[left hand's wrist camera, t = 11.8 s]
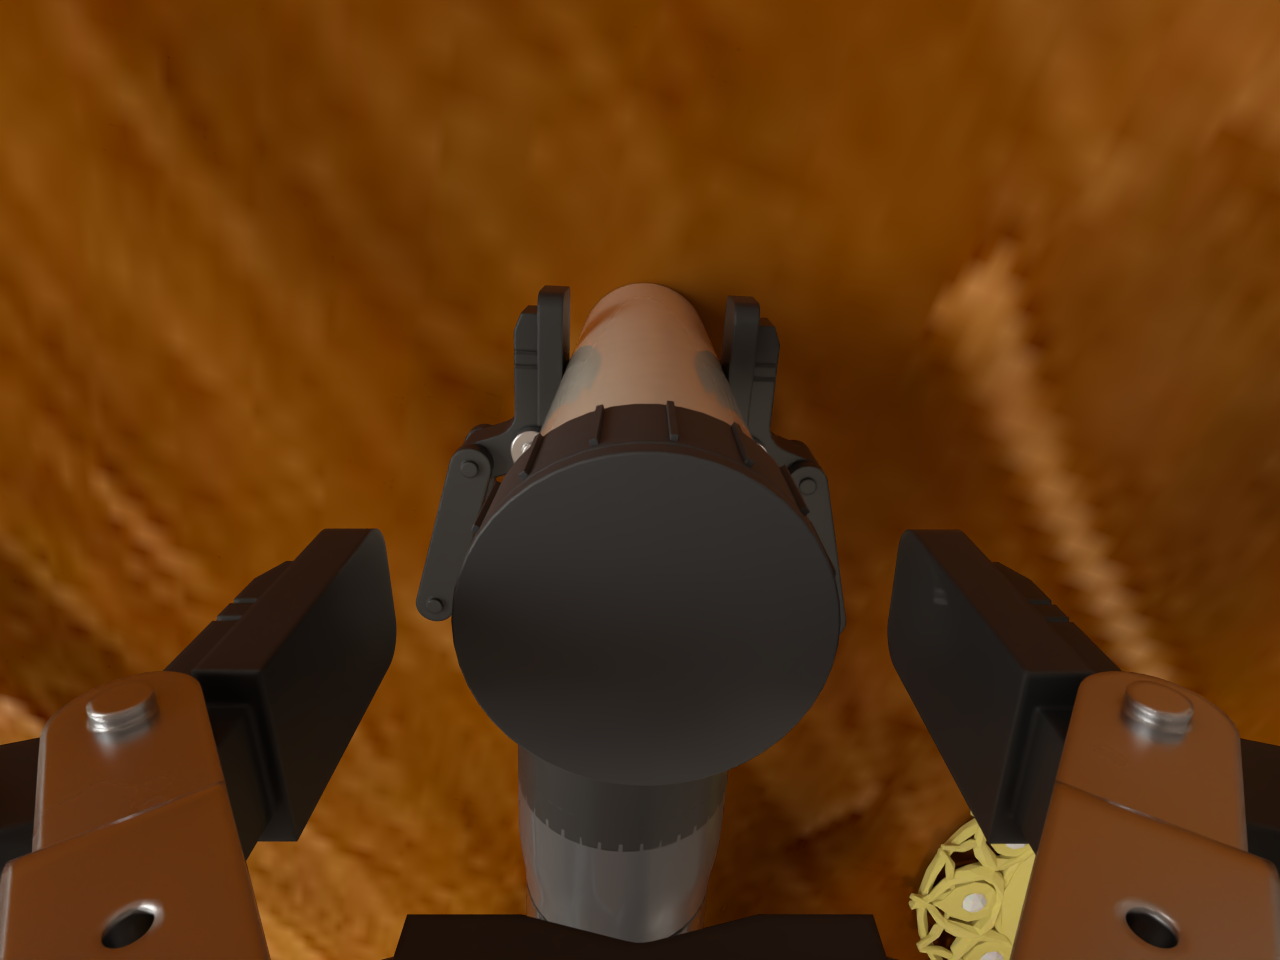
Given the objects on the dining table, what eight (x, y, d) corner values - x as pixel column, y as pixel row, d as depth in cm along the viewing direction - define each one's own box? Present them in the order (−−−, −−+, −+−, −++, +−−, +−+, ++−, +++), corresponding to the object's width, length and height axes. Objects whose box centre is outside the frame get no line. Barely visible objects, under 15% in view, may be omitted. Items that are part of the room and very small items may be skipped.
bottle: (732, 341, 28) (884, 605, 10) (648, 431, 29) (658, 800, 12) (638, 255, 26) (630, 385, 9) (555, 352, 28) (411, 629, 10)
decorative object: (1189, 702, 31) (1404, 974, 36) (1153, 669, 33) (1359, 928, 38) (796, 937, 36) (1026, 1150, 41) (789, 895, 39) (1007, 1100, 43)
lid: (878, 545, 12) (927, 620, 10) (657, 742, 13) (659, 844, 11) (630, 325, 11) (627, 359, 9) (416, 569, 12) (369, 649, 10)
